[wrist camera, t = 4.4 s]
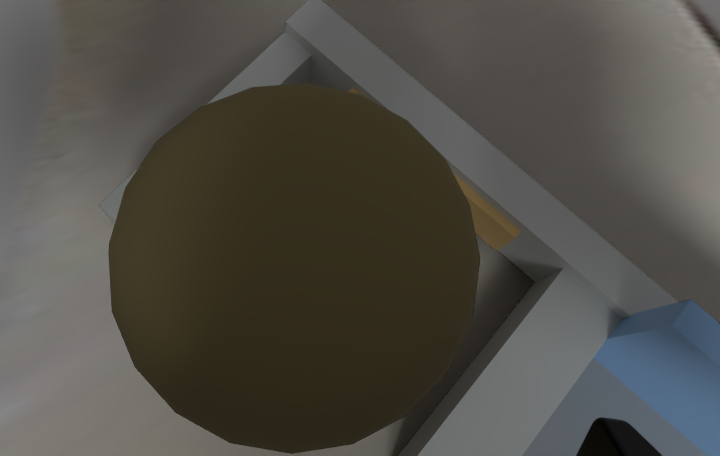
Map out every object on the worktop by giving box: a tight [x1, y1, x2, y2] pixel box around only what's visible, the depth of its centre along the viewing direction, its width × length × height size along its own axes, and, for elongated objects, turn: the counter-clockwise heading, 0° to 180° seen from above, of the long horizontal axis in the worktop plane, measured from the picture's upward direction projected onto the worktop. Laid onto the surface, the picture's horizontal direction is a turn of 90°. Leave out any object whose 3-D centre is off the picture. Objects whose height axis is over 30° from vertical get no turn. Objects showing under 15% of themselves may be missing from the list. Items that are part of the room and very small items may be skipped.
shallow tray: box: [98, 0, 720, 456], centre depth 17 cm, size 9×22×5 cm, turn 49°
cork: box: [109, 83, 480, 454], centre depth 13 cm, size 6×6×11 cm
